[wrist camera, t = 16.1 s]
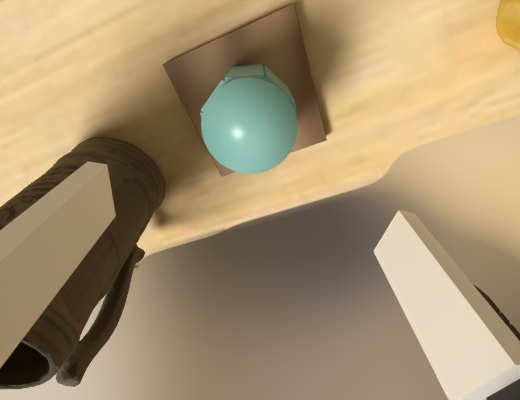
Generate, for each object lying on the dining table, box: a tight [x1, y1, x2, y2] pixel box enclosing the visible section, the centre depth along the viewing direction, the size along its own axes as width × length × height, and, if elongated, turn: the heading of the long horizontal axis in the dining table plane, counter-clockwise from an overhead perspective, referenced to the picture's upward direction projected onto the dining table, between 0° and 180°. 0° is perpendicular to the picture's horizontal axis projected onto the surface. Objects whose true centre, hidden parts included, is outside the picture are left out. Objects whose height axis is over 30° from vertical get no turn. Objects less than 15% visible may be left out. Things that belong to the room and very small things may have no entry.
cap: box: [200, 64, 297, 174], centre depth 22 cm, size 7×7×7 cm
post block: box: [163, 4, 327, 176], centre depth 22 cm, size 12×12×7 cm
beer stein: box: [0, 138, 165, 389], centre depth 23 cm, size 15×11×20 cm
